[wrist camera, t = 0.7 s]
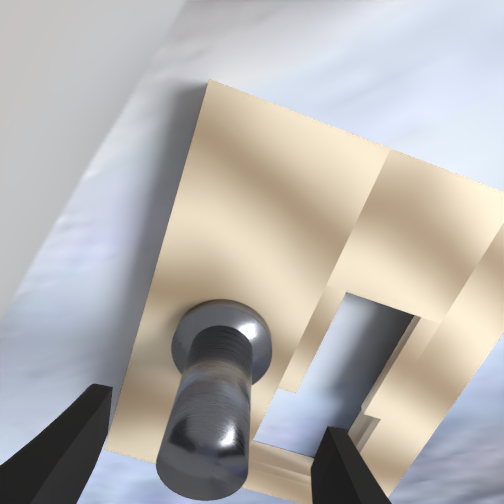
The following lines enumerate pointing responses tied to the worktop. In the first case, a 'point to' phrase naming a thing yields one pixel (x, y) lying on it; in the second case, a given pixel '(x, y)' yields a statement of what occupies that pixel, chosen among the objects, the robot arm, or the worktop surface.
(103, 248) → the worktop surface
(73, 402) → the robot arm
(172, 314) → the keyhole board
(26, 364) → the worktop surface
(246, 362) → the peg
